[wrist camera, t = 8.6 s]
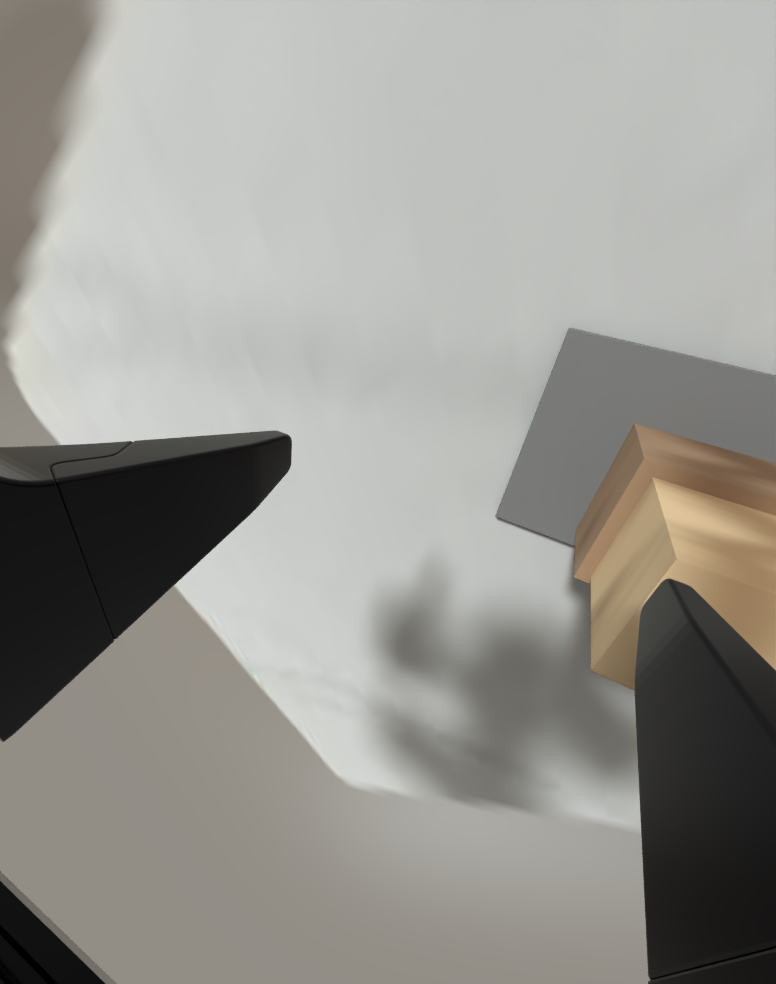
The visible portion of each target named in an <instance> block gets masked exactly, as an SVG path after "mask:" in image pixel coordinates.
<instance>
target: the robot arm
mask: <svg viewBox="0 0 776 984" xmlns="http://www.w3.org/2000/svg"><path fill="white" fill-rule="evenodd" d="M291 450H292V440H291V437H290V436H289V435H287V434H285V433H282V432H279V431H263V432H249V433H236V434H222V435H209V436H195V437H182V438H168V439H154V440H141V441H134V442H131V441H127V442H113V443H97V444H78V445H55V446H26V447H0V740H1V741H2V742H4V741H6V740H7V739H8V738H9V737H11V736H12V735H13V734H14V733H16V732H17V731H18V730H19V729H20V728H21V727H22V726H23V725H24V724H25V723H27V722H28V720H30V719H31V718H32V717H33V716H34V715H35V714H36V713H37V712H38V711H39V710H40V709H42V708H43V707H44V706H45V705H46V704H47V703H48V702H49V701H50V700H51V699H52V698H53V697H54V696H56V694H57V693H59V691H61V690H62V689H63V688H64V687H65V686H66V685H67V684H68V683H70V682H71V681H72V680H73V679H74V678H75V677H76V676H77V675H78V674H79V673H80V672H81V671H82V670H83V669H85V668H86V667H87V666H88V665H89V664H90V663H91V662H92V661H93V660H94V659H95V658H96V657H97V656H99V654H101V653H102V652H103V651H104V650H105V649H106V648H107V647H108V646H109V645H110V644H111V643H113V641H114V639H116V638H118V636H120V635H121V634H122V633H123V632H124V631H125V630H126V629H127V628H128V627H129V626H131V625H132V624H133V623H134V622H135V621H136V620H137V619H138V618H139V617H140V616H141V615H142V614H143V613H145V612H146V611H147V610H148V609H149V608H150V607H151V606H152V605H153V604H154V603H155V602H156V601H157V600H159V599H160V598H161V597H162V596H163V595H164V594H165V593H166V592H167V591H168V590H169V589H170V588H171V587H173V586H174V585H175V584H176V583H177V582H178V581H179V580H180V579H181V578H182V577H183V576H184V575H185V574H187V573H188V572H189V571H190V570H191V569H192V568H193V567H194V566H195V565H196V564H197V563H198V562H199V561H201V560H202V559H203V558H204V557H205V556H206V555H207V554H208V553H209V552H210V551H211V550H212V549H213V548H215V547H216V546H217V545H218V544H219V543H220V542H221V541H222V540H223V539H224V538H225V537H226V536H227V535H229V534H230V533H231V532H232V531H233V530H234V529H235V528H236V527H237V526H238V525H239V524H240V523H241V522H243V521H244V520H245V519H246V518H247V517H248V516H249V515H250V514H251V513H252V512H253V511H254V510H255V509H256V508H257V507H258V506H259V505H260V504H261V502H262V501H263V500H264V499H265V498H266V497H267V496H268V494H269V493H270V492H271V491H272V490H273V489H274V487H275V486H276V485H277V484H278V483H279V482H280V481H281V479H282V478H283V477H284V476H285V475H286V474H287V472H288V471H289V469H290V466H291ZM635 707H636V729H637V750H638V771H639V792H640V813H641V834H642V855H643V874H644V875H643V876H644V897H645V917H646V938H647V959H648V976H649V978H650V979H651V980H650V981H649V982H648V984H776V670H775V669H774V668H773V667H772V666H771V665H770V664H769V663H768V662H767V661H766V660H765V659H764V658H763V657H762V656H761V655H760V654H759V653H758V652H757V651H756V650H755V649H754V648H753V647H752V646H751V645H750V644H749V643H748V642H747V641H746V640H745V639H744V638H743V637H742V636H741V635H740V634H739V633H738V632H737V631H736V630H735V629H734V628H733V627H732V626H731V625H730V624H729V623H728V622H727V621H726V620H725V619H723V618H722V617H721V616H720V615H719V614H718V613H717V612H716V611H715V610H714V609H713V608H712V607H711V606H710V605H709V604H708V603H707V602H706V601H705V600H704V599H703V598H702V597H701V596H700V595H699V594H698V593H697V592H696V591H695V590H694V589H693V588H692V587H691V586H689V585H687V584H684V583H682V582H679V581H676V580H674V579H670V578H669V579H665V580H664V581H662V582H661V583H660V585H659V586H658V587H657V588H656V590H655V591H654V592H653V594H652V595H651V596H650V597H649V599H648V600H647V601H646V603H645V604H644V606H643V607H642V610H641V613H640V621H639V632H638V643H637V654H636V666H635ZM0 984H117V983H115V982H114V981H113V980H112V979H111V978H110V977H109V976H108V975H107V974H106V973H105V972H104V971H103V970H102V969H101V968H100V967H99V966H98V965H97V964H96V963H95V962H94V961H93V960H92V959H91V958H90V957H88V955H86V954H85V953H84V952H83V951H82V950H81V949H80V948H79V947H78V946H77V945H76V944H75V943H74V942H73V941H72V940H71V939H70V938H69V937H68V936H67V935H66V934H65V933H64V932H63V931H62V930H61V929H60V928H58V927H57V926H56V925H55V924H54V923H53V922H52V921H51V920H50V919H49V918H48V917H47V916H46V915H45V914H44V913H43V912H42V911H41V910H40V909H39V908H38V907H37V906H36V905H35V904H34V903H33V902H31V900H29V899H28V898H27V897H26V896H25V895H24V894H23V893H22V892H21V891H20V890H19V889H18V888H17V887H16V886H15V885H14V884H13V883H12V882H11V881H10V880H9V879H8V878H7V877H5V875H4V874H2V873H1V872H0Z"/></svg>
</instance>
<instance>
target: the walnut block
mask: <svg viewBox="0 0 776 984" xmlns="http://www.w3.org/2000/svg"><path fill="white" fill-rule="evenodd" d="M652 477H654V478H657V479H660V480H663V481H666V482H670V483H673V484H676V485H679V486H682V487H685V488H689V489H692V490H695V491H698V492H701V493H705V494H708V495H711V496H714V497H717V498H721V499H724V500H727V501H730V502H733V503H737V504H740V505H743V506H746V507H749V508H752V509H756V510H759V511H762V512H765V513H768V514H772V515H775V516H776V463H773V462H769V461H766V460H762V459H759V458H755V457H752V456H748V455H745V454H741V453H738V452H734V451H731V450H727V449H724V448H720V447H717V446H713V445H710V444H706V443H702V442H699V441H695V440H692V439H688V438H685V437H681V436H678V435H674V434H671V433H667V432H664V431H660V430H657V429H653V428H650V427H646V426H643V425H639V424H636V423H634V425H633V426H632V428H631V430H630V432H629V434H628V436H627V437H626V439H625V441H624V443H623V445H622V446H621V448H620V450H619V452H618V454H617V456H616V457H615V459H614V461H613V463H612V465H611V467H610V468H609V470H608V472H607V474H606V476H605V478H604V479H603V481H602V483H601V485H600V487H599V488H598V490H597V492H596V494H595V496H594V498H593V499H592V501H591V503H590V505H589V507H588V509H587V510H586V512H585V514H584V516H583V518H582V520H581V521H580V523H579V525H578V527H577V529H576V541H575V558H574V576H573V577H574V578H576V579H579V580H581V581H584V582H586V583H589V584H591V575H592V573H593V571H594V570H595V568H596V567H597V565H598V563H599V562H600V560H601V559H602V557H603V555H604V554H605V552H606V551H607V549H608V547H609V546H610V544H611V543H612V541H613V539H614V538H615V536H616V535H617V533H618V531H619V530H620V528H621V527H622V525H623V523H624V522H625V520H626V519H627V517H628V515H629V514H630V512H631V511H632V509H633V507H634V506H635V504H636V503H637V501H638V499H639V498H640V496H641V495H642V493H643V491H644V490H645V488H646V487H647V485H648V483H649V482H650V480H651V479H652Z"/></svg>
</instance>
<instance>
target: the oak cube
mask: <svg viewBox="0 0 776 984" xmlns="http://www.w3.org/2000/svg"><path fill="white" fill-rule="evenodd" d="M669 578H670V579H674V580H676V581H679V582H682V583H684V584H687V585H689V586H691V587H692V588H693V589H694V590H695V591H696V592H697V593H698V594H699V595H700V596H701V597H702V598H703V599H704V600H705V601H706V602H707V603H708V604H709V605H710V606H711V607H712V608H713V609H714V610H715V611H716V612H717V613H718V614H719V615H720V616H721V617H722V618H723V619H725V620H726V621H727V622H728V623H729V624H730V625H731V626H732V627H733V628H734V629H735V630H736V631H737V632H738V633H739V634H740V635H741V636H742V637H743V638H744V639H745V640H746V641H747V642H748V643H749V644H750V645H751V646H752V647H753V648H754V649H755V650H756V651H757V652H758V653H759V654H760V655H761V656H762V657H763V658H764V659H765V660H766V661H767V662H768V663H769V664H770V665H771V666H772V667H773V668H774V669H775V670H776V516H775V515H772V514H768V513H765V512H762V511H759V510H756V509H752V508H749V507H746V506H743V505H740V504H737V503H733V502H730V501H727V500H724V499H721V498H717V497H714V496H711V495H708V494H705V493H701V492H698V491H695V490H692V489H689V488H685V487H682V486H679V485H676V484H673V483H670V482H666V481H663V480H660V479H657V478H654V477H652V479H651V480H650V482H649V483H648V485H647V487H646V488H645V490H644V491H643V493H642V495H641V496H640V498H639V499H638V501H637V503H636V504H635V506H634V507H633V509H632V511H631V512H630V514H629V515H628V517H627V519H626V520H625V522H624V523H623V525H622V527H621V528H620V530H619V531H618V533H617V535H616V536H615V538H614V539H613V541H612V543H611V544H610V546H609V547H608V549H607V551H606V552H605V554H604V555H603V557H602V559H601V560H600V562H599V563H598V565H597V567H596V568H595V570H594V571H593V573H592V575H591V671H593V672H595V673H597V674H600V675H602V676H604V677H606V678H608V679H611V680H613V681H615V682H617V683H619V684H622V685H624V686H626V687H628V688H630V689H633V690H635V666H636V654H637V643H638V632H639V621H640V613H641V610H642V607H643V606H644V604H645V603H646V601H647V600H648V599H649V597H650V596H651V595H652V594H653V592H654V591H655V590H656V588H657V587H658V586H659V585H660V583H661V582H662V581H664V580H665V579H669Z"/></svg>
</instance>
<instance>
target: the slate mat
mask: <svg viewBox="0 0 776 984" xmlns="http://www.w3.org/2000/svg"><path fill="white" fill-rule="evenodd" d="M634 423H636V424H639V425H643V426H646V427H650V428H653V429H657V430H660V431H664V432H667V433H671V434H674V435H678V436H681V437H685V438H688V439H692V440H695V441H699V442H702V443H706V444H710V445H713V446H717V447H720V448H724V449H727V450H731V451H734V452H738V453H741V454H745V455H748V456H752V457H755V458H759V459H762V460H766V461H769V462H773V463H776V376H775V375H771V374H767V373H762V372H758V371H754V370H750V369H745V368H741V367H737V366H732V365H728V364H724V363H719V362H715V361H711V360H706V359H702V358H698V357H693V356H689V355H685V354H681V353H676V352H672V351H668V350H663V349H659V348H655V347H650V346H646V345H642V344H637V343H633V342H629V341H625V340H620V339H616V338H612V337H607V336H603V335H599V334H594V333H590V332H586V331H581V330H577V329H573V328H569V329H568V332H567V334H566V337H565V339H564V342H563V344H562V347H561V349H560V352H559V355H558V357H557V360H556V362H555V365H554V367H553V370H552V372H551V375H550V378H549V380H548V383H547V385H546V388H545V390H544V393H543V396H542V398H541V401H540V403H539V406H538V408H537V411H536V413H535V416H534V419H533V421H532V424H531V426H530V429H529V431H528V434H527V436H526V439H525V442H524V444H523V447H522V449H521V452H520V454H519V457H518V460H517V462H516V465H515V467H514V470H513V472H512V475H511V477H510V480H509V483H508V485H507V488H506V490H505V493H504V495H503V498H502V501H501V503H500V506H499V508H498V511H497V513H496V517H499V518H501V519H504V520H507V521H509V522H512V523H515V524H517V525H520V526H523V527H525V528H528V529H531V530H533V531H536V532H538V533H541V534H544V535H546V536H549V537H552V538H554V539H557V540H560V541H562V542H565V543H568V544H570V545H573V546H575V541H576V529H577V527H578V525H579V523H580V521H581V520H582V518H583V516H584V514H585V512H586V510H587V509H588V507H589V505H590V503H591V501H592V499H593V498H594V496H595V494H596V492H597V490H598V488H599V487H600V485H601V483H602V481H603V479H604V478H605V476H606V474H607V472H608V470H609V468H610V467H611V465H612V463H613V461H614V459H615V457H616V456H617V454H618V452H619V450H620V448H621V446H622V445H623V443H624V441H625V439H626V437H627V436H628V434H629V432H630V430H631V428H632V426H633V425H634Z"/></svg>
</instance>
